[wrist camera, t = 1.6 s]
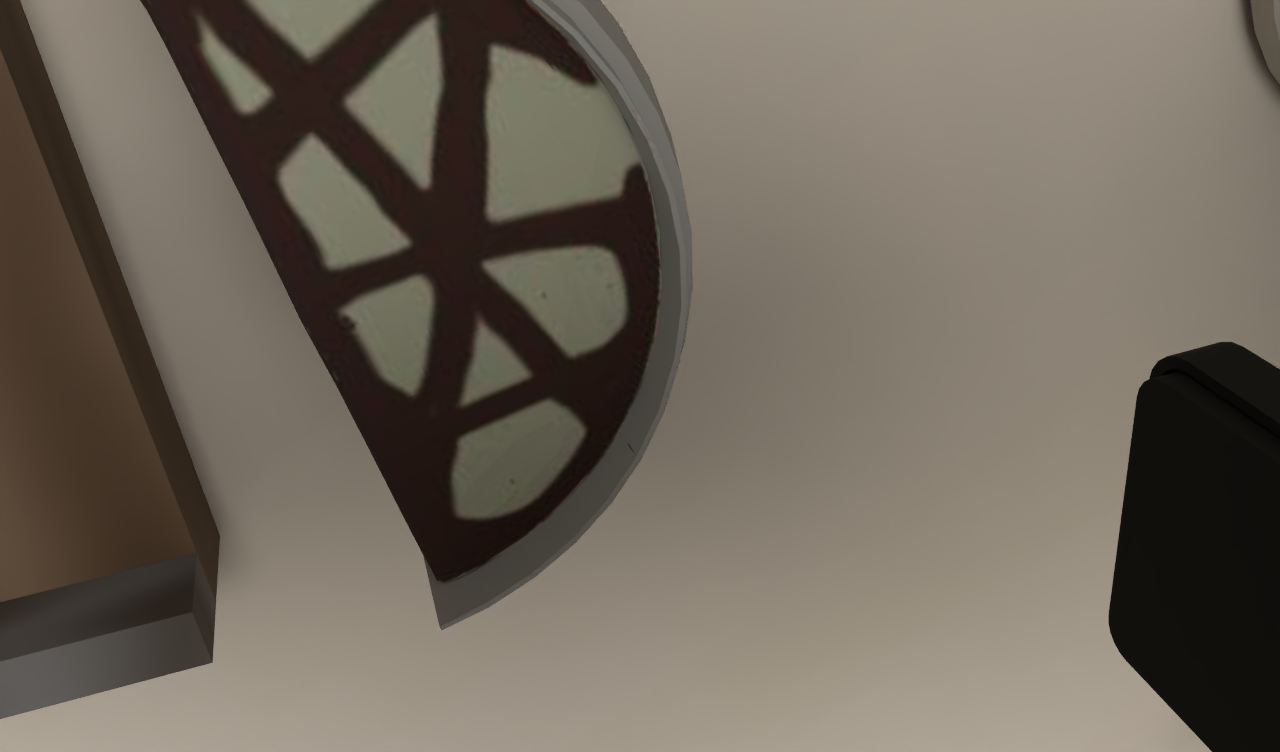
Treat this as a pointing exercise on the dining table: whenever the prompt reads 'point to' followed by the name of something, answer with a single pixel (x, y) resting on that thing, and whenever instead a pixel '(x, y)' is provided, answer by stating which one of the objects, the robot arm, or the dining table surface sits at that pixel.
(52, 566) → the tray
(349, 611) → the dining table surface
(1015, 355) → the dining table surface
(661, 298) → the food container
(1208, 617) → the robot arm
